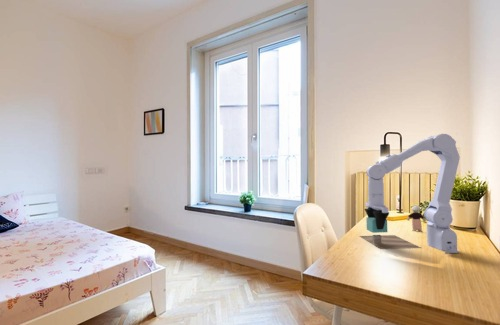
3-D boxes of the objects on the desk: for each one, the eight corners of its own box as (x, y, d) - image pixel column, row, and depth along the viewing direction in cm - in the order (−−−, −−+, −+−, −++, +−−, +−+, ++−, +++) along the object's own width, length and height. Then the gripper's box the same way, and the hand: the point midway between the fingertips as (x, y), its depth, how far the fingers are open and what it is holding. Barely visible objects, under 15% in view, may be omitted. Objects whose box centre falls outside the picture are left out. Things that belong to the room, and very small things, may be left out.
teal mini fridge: (387, 232, 105) (387, 219, 105) (372, 232, 104) (372, 219, 104) (380, 229, 110) (380, 216, 110) (366, 229, 109) (366, 217, 109)
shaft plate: (421, 251, 99) (421, 239, 99) (380, 252, 99) (379, 241, 99) (394, 237, 117) (394, 228, 117) (359, 238, 117) (358, 229, 117)
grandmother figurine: (422, 230, 128) (421, 204, 128) (426, 232, 124) (426, 206, 124) (405, 230, 129) (405, 204, 129) (409, 232, 125) (409, 206, 125)
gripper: (358, 192, 114) (359, 223, 114) (375, 196, 100) (375, 232, 100) (374, 192, 114) (375, 223, 114) (393, 196, 100) (394, 231, 100)
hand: (376, 227), depth 107 cm, fingers closed on teal mini fridge, 5 cm apart
